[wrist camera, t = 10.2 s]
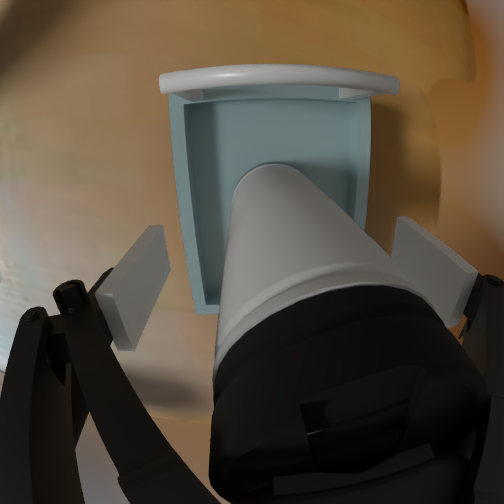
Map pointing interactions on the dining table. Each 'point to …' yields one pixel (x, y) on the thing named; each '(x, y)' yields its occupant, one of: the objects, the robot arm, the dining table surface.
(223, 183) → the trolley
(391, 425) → the travel mug
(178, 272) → the dining table surface
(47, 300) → the dining table surface
